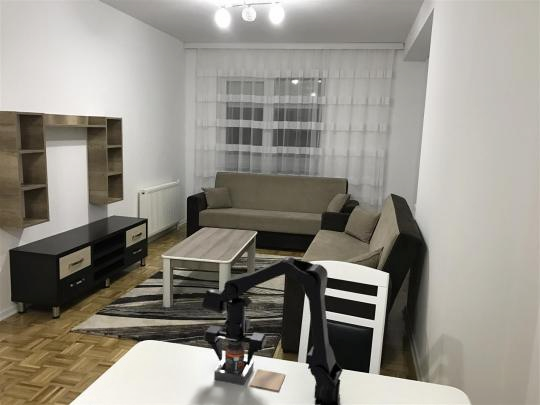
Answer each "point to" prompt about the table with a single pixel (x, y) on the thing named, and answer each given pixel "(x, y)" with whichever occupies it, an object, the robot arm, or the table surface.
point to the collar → (233, 373)
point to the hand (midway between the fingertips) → (234, 362)
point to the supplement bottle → (234, 357)
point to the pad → (268, 380)
